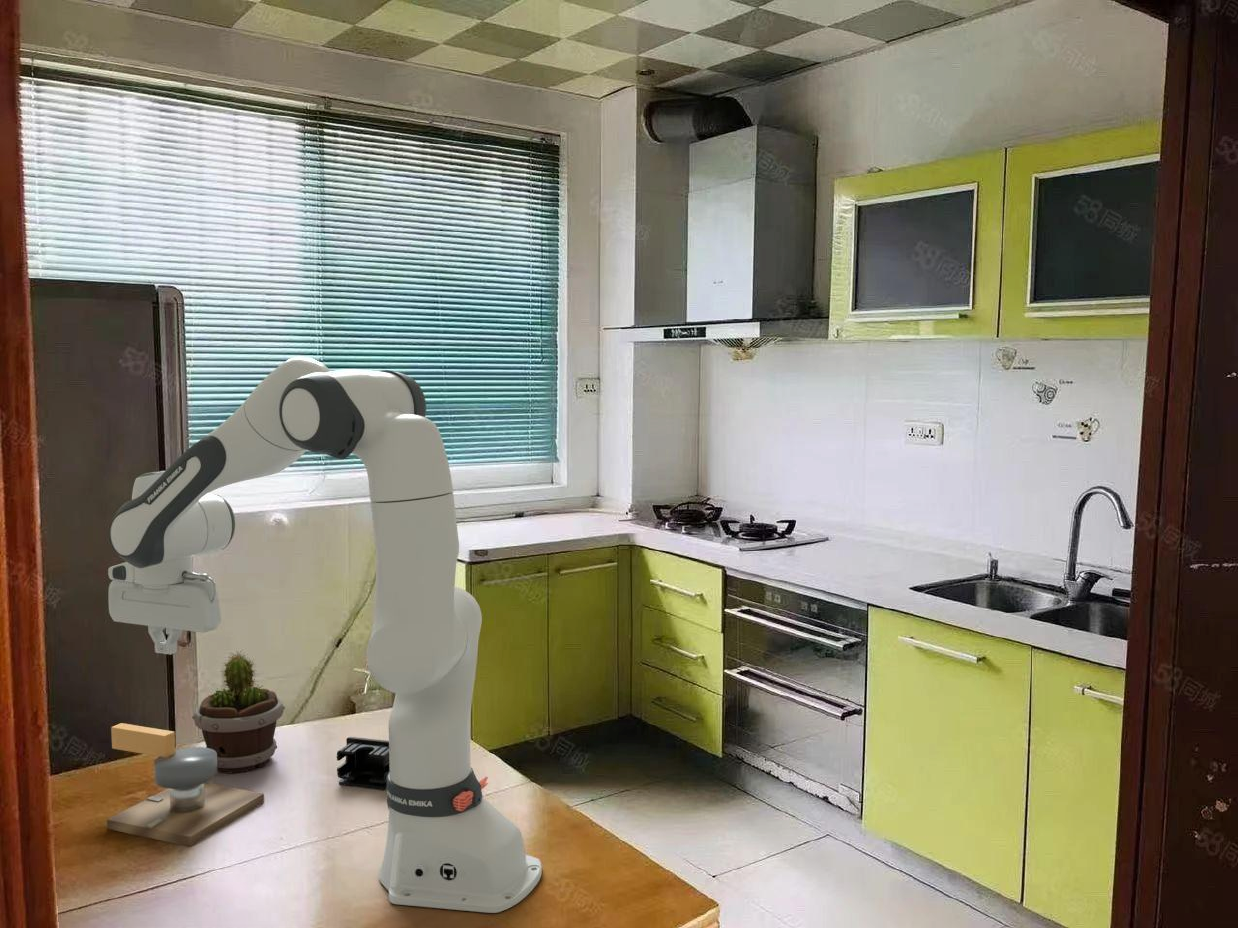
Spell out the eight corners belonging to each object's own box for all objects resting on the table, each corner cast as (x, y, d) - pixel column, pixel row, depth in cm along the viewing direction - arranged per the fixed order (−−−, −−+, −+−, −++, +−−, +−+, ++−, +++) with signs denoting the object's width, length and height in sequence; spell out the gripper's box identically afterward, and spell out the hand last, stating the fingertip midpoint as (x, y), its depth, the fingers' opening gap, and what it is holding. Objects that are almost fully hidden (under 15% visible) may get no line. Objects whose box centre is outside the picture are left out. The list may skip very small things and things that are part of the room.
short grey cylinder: (212, 801, 158) (210, 774, 158) (188, 815, 153) (187, 786, 153) (187, 797, 160) (186, 770, 159) (162, 810, 155) (161, 782, 155)
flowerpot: (282, 774, 173) (278, 661, 171) (187, 782, 169) (182, 667, 167) (289, 744, 187) (286, 639, 185) (202, 751, 183) (198, 644, 181)
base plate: (264, 802, 161) (263, 792, 161) (190, 846, 147) (189, 835, 146) (186, 787, 167) (185, 778, 167) (107, 828, 152) (106, 818, 152)
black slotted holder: (408, 774, 173) (407, 736, 172) (388, 791, 166) (388, 752, 166) (356, 768, 175) (355, 731, 175) (334, 784, 169) (334, 746, 168)
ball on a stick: (230, 769, 159) (228, 730, 158) (187, 791, 150) (186, 750, 150) (140, 754, 165) (138, 715, 165) (94, 774, 157) (92, 734, 156)
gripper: (228, 570, 161) (230, 654, 163) (131, 561, 168) (133, 641, 170) (199, 578, 155) (202, 665, 157) (99, 568, 162) (103, 651, 164)
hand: (166, 652), depth 163 cm, fingers closed
